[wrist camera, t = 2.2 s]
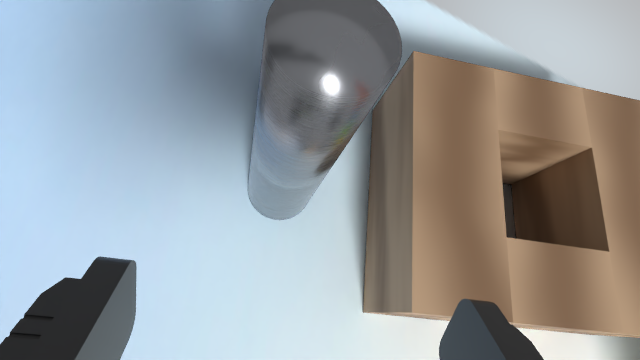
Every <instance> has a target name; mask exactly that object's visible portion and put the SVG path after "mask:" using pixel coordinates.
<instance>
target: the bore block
mask: <svg viewBox="0 0 640 360" xmlns="http://www.w3.org/2000/svg"><path fill="white" fill-rule="evenodd" d="M502 183H505V184H511V186H512V198H513V210H514V221H515V233H516V239H515V238H508V237H507V236H506V223H505V210H504V197H503V184H502ZM462 299H472V300H481V301H490V302H493V303H495V304H496V305H497V306H498V307H499V309H500V310H501V312H502V313H503V315H504V316H505V318H506V319H507V320H508V322H509V323H510V324H512V325H514V326H515V327H518V328H528V329H538V330H548V331H558V332H569V333H579V334H589V335H605V336H620V337H636V338H640V101H639V100H635V99H630V98H626V97H621V96H617V95H612V94H608V93H603V92H599V91H594V90H589V89H585V88H580V87H576V86H571V85H567V84H562V83H557V82H553V81H548V80H544V79H539V78H535V77H530V76H526V75H521V74H516V73H512V72H507V71H503V70H498V69H494V68H489V67H484V66H480V65H475V64H471V63H466V62H462V61H457V60H453V59H448V58H443V57H439V56H434V55H430V54H425V53H421V52H416V51H413V53H412V54H411V56H410V57H409V58H408V60H407V61H406V63H405V64H404V66H403V67H402V69H401V70H400V72H399V73H398V74H397V76H396V77H395V79H394V80H393V82H392V83H391V85H390V86H389V88H388V89H387V90H386V92H385V93H384V95H383V96H382V98H381V99H380V101H379V102H378V104H377V105H376V106H375V108H374V109H373V111H372V133H371V154H370V175H369V197H368V218H367V239H366V261H365V282H364V303H363V312H364V313H374V314H385V315H395V316H405V317H415V318H426V319H436V320H446V321H450V320H451V318H452V316H453V314H454V311H455V309H456V307H457V305H458V303H459V302H460V301H461V300H462Z"/></svg>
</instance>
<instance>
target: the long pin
mask: <svg viewBox="0 0 640 360" xmlns="http://www.w3.org/2000/svg"><path fill="white" fill-rule="evenodd" d="M401 54H402V43H401V37H400V34H399V31H398V28H397V26H396V24H395V22H394V20H393V18H392V17H391V15H390V14H389V12H388V11H387V10H386V9H385V8H384V7H383V6H382V5H381V4H380V3H379V2H378V1H377V0H275V1H274V2H273V4H272V5H271V7H270V9H269V12H268V15H267V18H266V25H265V35H264V44H263V53H262V62H261V71H260V80H259V90H258V99H257V108H256V117H255V126H254V136H253V145H252V154H251V163H250V172H249V181H248V195H249V199H250V201H251V203H252V205H253V206H254V208H255V209H256V210H257V211H258V212H259V213H261V214H262V215H264V216H266V217H268V218H271V219H275V220H284V219H289V218H292V217H294V216H296V215H297V214H299V213H300V212H301V211H302V210H303V209H304V207H305V206H306V204H307V203H308V202H309V200H310V199H311V197H312V196H313V194H314V193H315V191H316V190H317V188H318V187H319V185H320V184H321V182H322V181H323V179H324V178H325V176H326V175H327V173H328V172H329V170H330V169H331V167H332V166H333V164H334V163H335V161H336V160H337V158H338V157H339V155H340V154H341V153H342V151H343V150H344V148H345V147H346V145H347V144H348V142H349V141H350V139H351V138H352V136H353V135H354V133H355V132H356V130H357V129H358V127H359V126H360V124H361V123H362V121H363V120H364V118H365V117H366V115H367V114H368V112H369V111H370V109H371V108H372V107H373V105H374V104H375V102H376V101H377V99H378V98H379V96H380V95H381V93H382V92H383V90H384V89H385V87H386V86H387V84H388V83H389V81H390V80H391V78H392V77H393V75H394V74H395V72H396V71H397V68H398V66H399V64H400V60H401Z"/></svg>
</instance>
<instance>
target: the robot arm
mask: <svg viewBox="0 0 640 360" xmlns="http://www.w3.org/2000/svg"><path fill="white" fill-rule="evenodd" d="M135 313H136V262H135V261H134V260H125V259H116V258H107V257H97V258H96V259H95V260H94V261H93V263H92V264H91V266H90V267H89V268H88V270H87V271H86V273H85V274H84V276H83V277H82V278H81V279H75V278H64V279H63V280H61V281H60V282H58V283H57V284H55V285H54V286H52V287H51V288H49V289H48V290H46V291H44V292H43V293H41V295H40V296H39V297H38V298H37V299H36V301H35V302H34V303H33V304H32V306H31V307H30V308H29V309H28V311H27V312H26V313H25V314H24V318H23V319H20V321H19V322H18V323H17V324H16V326H15V327H14V328H13V329H12V331H11V332H10V335H9V337H6V338H5V339H4V341H3V342H2V343H1V344H0V360H120V358H121V356H122V354H123V351H124V349H125V347H126V345H127V343H128V340H129V338H130V335H131V332H132V329H133V325H134V320H135ZM439 357H440V360H544V359H543V358H542V356H541V355H540V354H539V352H538V351H537V349H536V348H535V346H534V345H533V344H532V342H531V341H530V340H529V339H528V338H527V337H526V336H524V335H523V334H522V333H521V332H520V331H519V330H518V329H517V328H516V327H515V326H514V325H512V324H510V323H509V322H508V320H507V319H506V318H505V316H504V315H503V313H502V312H501V310H500V309H499V307H498V306H497V305H496V304H495V303H493V302H490V301H481V300H472V299H462V300H461V301H460V302H459V303H458V305H457V307H456V309H455V311H454V314H453V316H452V318H451V320H450V322H449V324H448V326H447V328H446V330H445V333H444V335H443V337H442V339H441V342H440V347H439Z"/></svg>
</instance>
